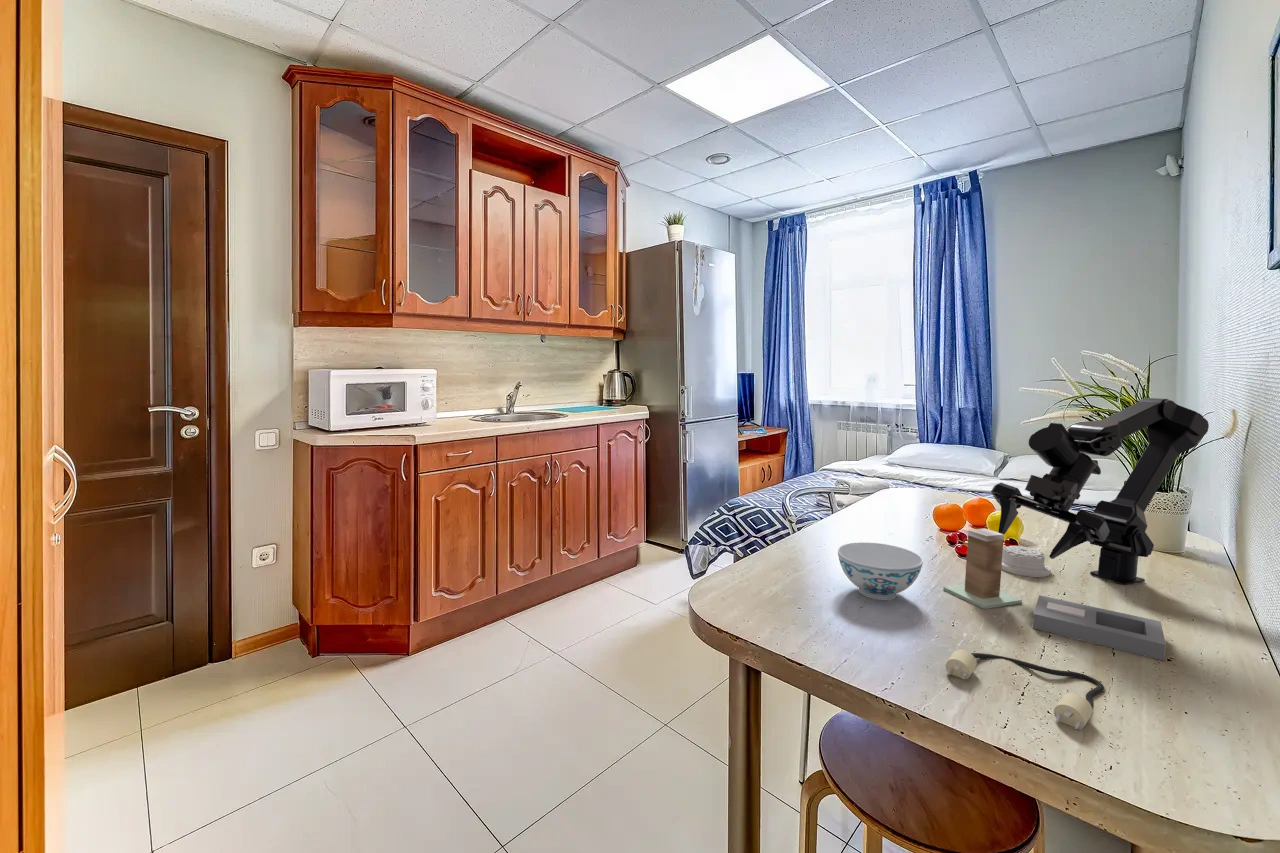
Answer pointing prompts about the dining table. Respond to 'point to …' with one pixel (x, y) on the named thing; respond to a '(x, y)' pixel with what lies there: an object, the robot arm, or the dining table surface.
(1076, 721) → the cable
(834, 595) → the dining table surface
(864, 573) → the chinaware
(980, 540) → the plug
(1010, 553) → the mechanical component
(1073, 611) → the socket block
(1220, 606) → the dining table surface
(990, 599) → the mat
